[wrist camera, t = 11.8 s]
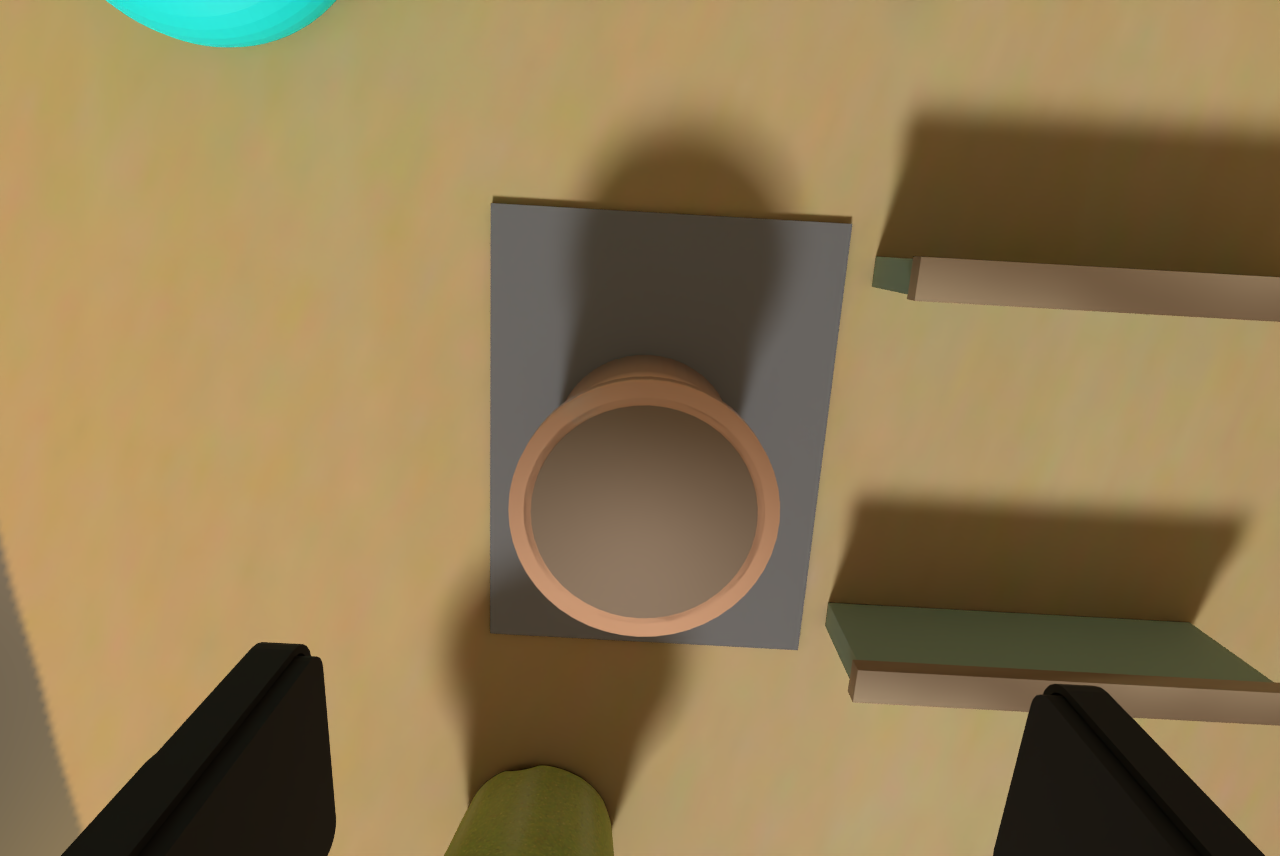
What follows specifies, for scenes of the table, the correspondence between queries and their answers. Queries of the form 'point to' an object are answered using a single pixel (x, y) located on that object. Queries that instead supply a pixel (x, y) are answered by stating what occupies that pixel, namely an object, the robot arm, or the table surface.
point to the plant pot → (534, 817)
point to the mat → (680, 330)
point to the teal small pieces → (224, 19)
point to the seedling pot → (644, 501)
